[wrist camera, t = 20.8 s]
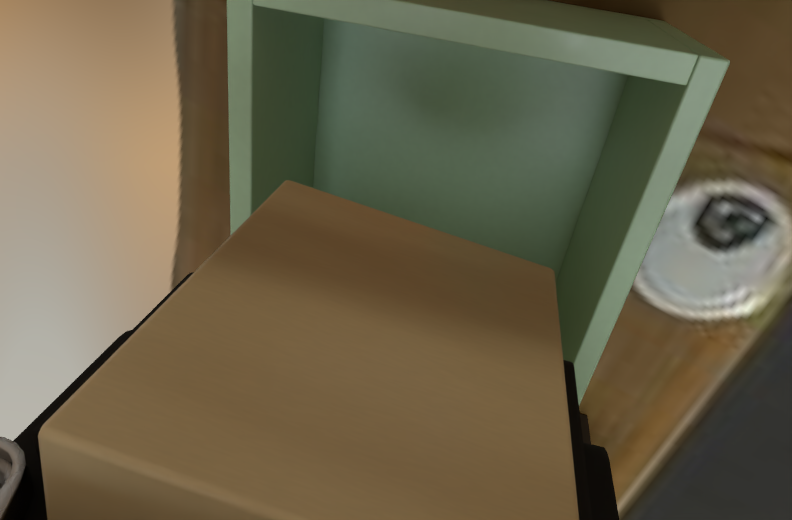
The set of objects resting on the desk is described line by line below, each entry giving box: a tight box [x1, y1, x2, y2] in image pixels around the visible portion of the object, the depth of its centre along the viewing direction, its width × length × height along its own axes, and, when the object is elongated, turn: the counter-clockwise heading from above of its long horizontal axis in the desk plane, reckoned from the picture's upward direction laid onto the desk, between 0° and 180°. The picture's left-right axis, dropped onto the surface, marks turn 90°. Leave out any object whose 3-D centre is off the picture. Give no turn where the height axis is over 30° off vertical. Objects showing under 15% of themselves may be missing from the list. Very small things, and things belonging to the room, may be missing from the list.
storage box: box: [227, 0, 730, 405], centre depth 22 cm, size 15×14×8 cm
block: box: [38, 180, 579, 520], centre depth 9 cm, size 5×5×6 cm
